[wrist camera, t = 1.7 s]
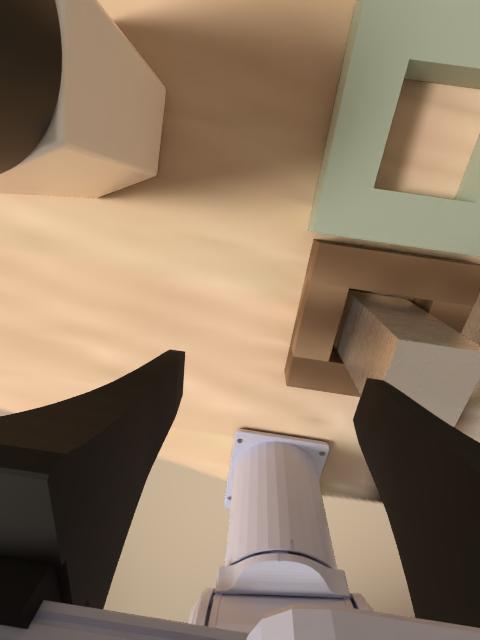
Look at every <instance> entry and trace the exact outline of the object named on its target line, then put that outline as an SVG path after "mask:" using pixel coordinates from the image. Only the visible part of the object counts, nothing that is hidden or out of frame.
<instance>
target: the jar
mask: <svg viewBox="0 0 480 640" xmlns="http://www.w3.org/2000/svg"><path fill="white" fill-rule="evenodd" d="M165 97H166V88H165V86H164V84H163V83H162V82H161V81H160V79H159V78H158V77H157V76H156V74H155V73H154V72H153V70H152V69H151V68H150V67H149V65H148V64H147V63H146V62H145V60H144V59H143V58H142V57H141V55H140V54H139V53H138V51H137V50H136V49H135V48H134V46H133V45H132V44H131V43H130V41H129V40H128V39H127V38H126V36H125V35H124V34H123V32H122V31H121V30H120V29H119V27H118V26H117V25H116V24H115V22H114V21H113V20H112V18H111V17H110V16H109V15H108V13H107V12H106V11H105V10H104V8H103V7H102V6H101V5H100V3H99V2H98V1H97V0H0V194H18V195H36V196H54V197H73V198H91V199H95V198H98V197H101V196H103V195H106V194H109V193H111V192H114V191H117V190H119V189H122V188H125V187H128V186H130V185H133V184H136V183H138V182H141V181H144V180H147V179H149V178H152V177H155V176H156V175H157V171H158V162H159V153H160V144H161V134H162V125H163V116H164V106H165Z"/></svg>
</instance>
